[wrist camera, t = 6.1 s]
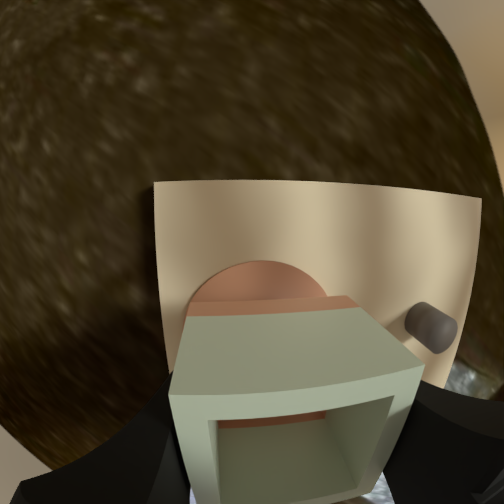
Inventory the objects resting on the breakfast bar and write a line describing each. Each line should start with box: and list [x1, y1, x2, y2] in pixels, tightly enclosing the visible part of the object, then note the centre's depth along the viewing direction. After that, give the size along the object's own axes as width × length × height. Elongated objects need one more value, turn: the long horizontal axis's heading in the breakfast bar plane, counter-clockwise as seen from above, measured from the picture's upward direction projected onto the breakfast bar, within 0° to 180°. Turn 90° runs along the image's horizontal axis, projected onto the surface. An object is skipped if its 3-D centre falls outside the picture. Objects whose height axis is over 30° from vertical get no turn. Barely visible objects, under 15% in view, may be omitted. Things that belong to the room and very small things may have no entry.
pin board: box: [154, 180, 482, 389], centre depth 13 cm, size 18×14×4 cm
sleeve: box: [168, 295, 425, 504], centre depth 8 cm, size 6×6×5 cm
